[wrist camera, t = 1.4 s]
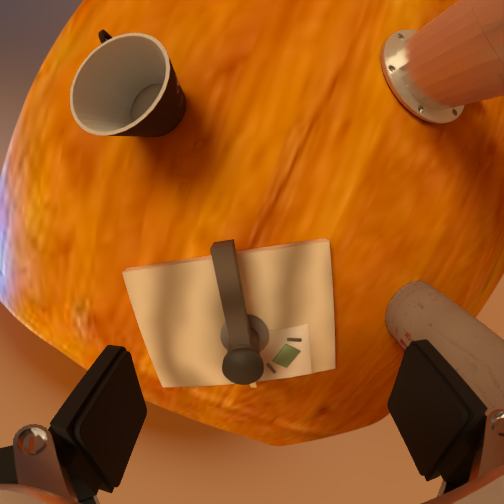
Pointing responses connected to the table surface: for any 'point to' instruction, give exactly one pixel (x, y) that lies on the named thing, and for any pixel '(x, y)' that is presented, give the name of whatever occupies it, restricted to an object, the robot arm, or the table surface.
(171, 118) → the coffee mug
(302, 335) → the beige flat slab
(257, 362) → the grey door handle
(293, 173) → the table surface
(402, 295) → the thermos bottle
